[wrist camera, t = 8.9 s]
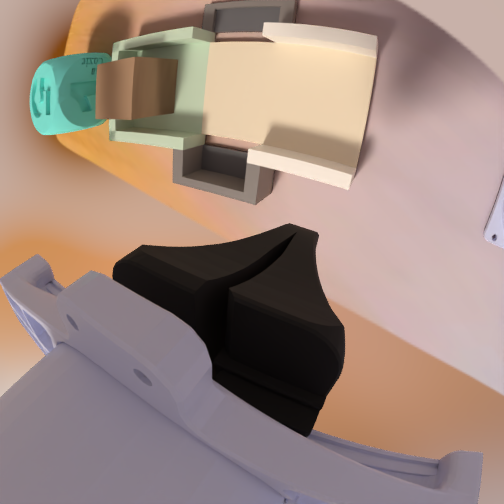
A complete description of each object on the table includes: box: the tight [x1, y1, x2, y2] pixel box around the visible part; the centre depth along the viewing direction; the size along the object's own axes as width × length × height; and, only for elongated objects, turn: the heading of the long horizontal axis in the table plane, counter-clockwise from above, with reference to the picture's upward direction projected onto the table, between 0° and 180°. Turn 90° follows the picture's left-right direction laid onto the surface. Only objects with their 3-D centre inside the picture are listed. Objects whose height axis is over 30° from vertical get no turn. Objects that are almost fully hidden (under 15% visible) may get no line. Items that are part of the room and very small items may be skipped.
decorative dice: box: [30, 53, 112, 135], centre depth 21 cm, size 8×8×8 cm
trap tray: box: [109, 0, 378, 205], centre depth 18 cm, size 22×16×3 cm
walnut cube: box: [95, 57, 178, 120], centre depth 19 cm, size 5×5×5 cm
